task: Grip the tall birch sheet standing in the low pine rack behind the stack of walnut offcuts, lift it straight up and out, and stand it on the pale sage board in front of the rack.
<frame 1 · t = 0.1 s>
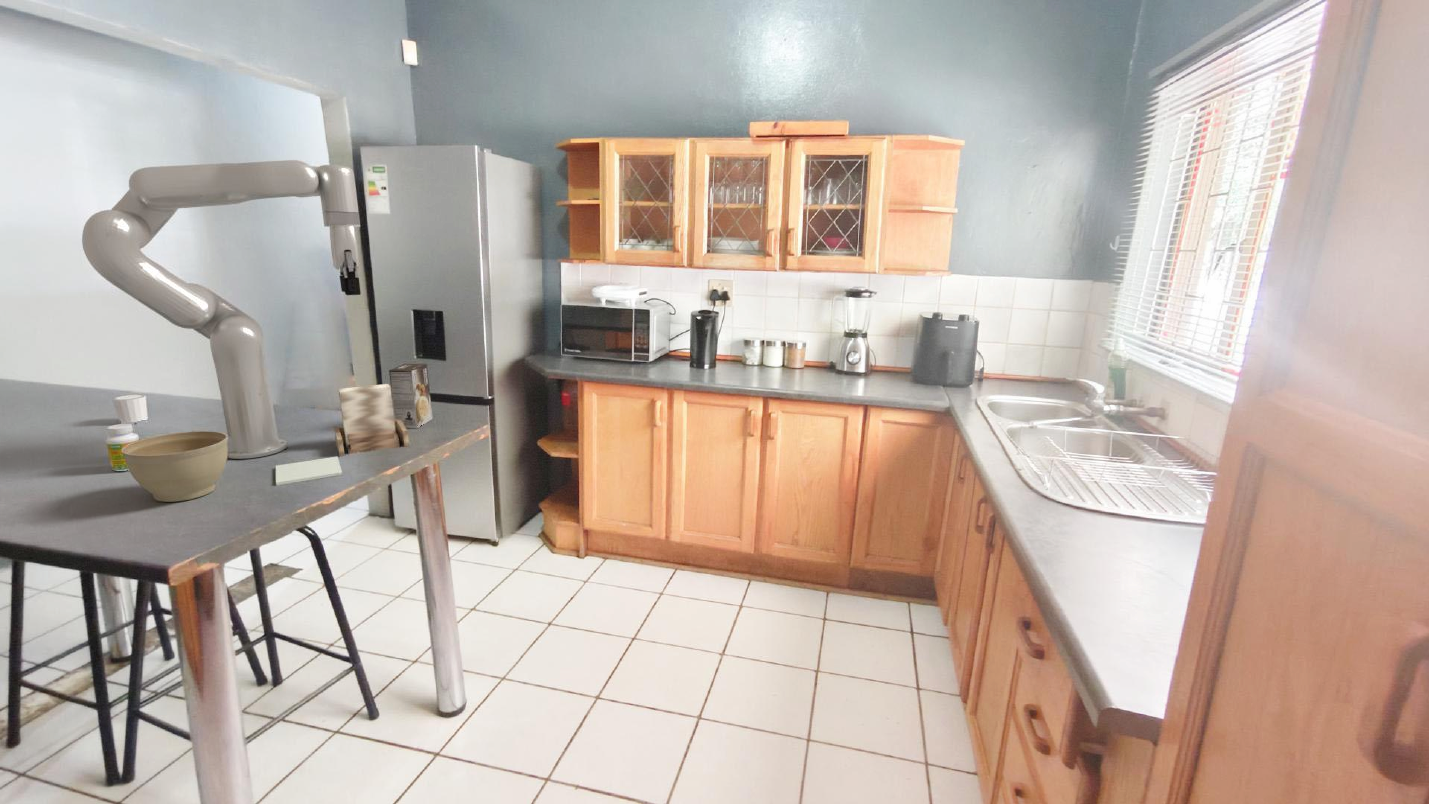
hand: (351, 293, 159), 37 cm above the table, tool pointing down, fingers open, 9 cm apart
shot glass: (134, 422, 177), on the table
supplement bottle: (129, 469, 143), on the table
coffee box: (414, 424, 180), on the table
planter bowl: (186, 494, 130), on the table
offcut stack: (373, 448, 159), on the table
pine rack: (371, 442, 163), on the table
sage board: (308, 471, 143), on the table
birch sheet: (368, 415, 162), in the pine rack
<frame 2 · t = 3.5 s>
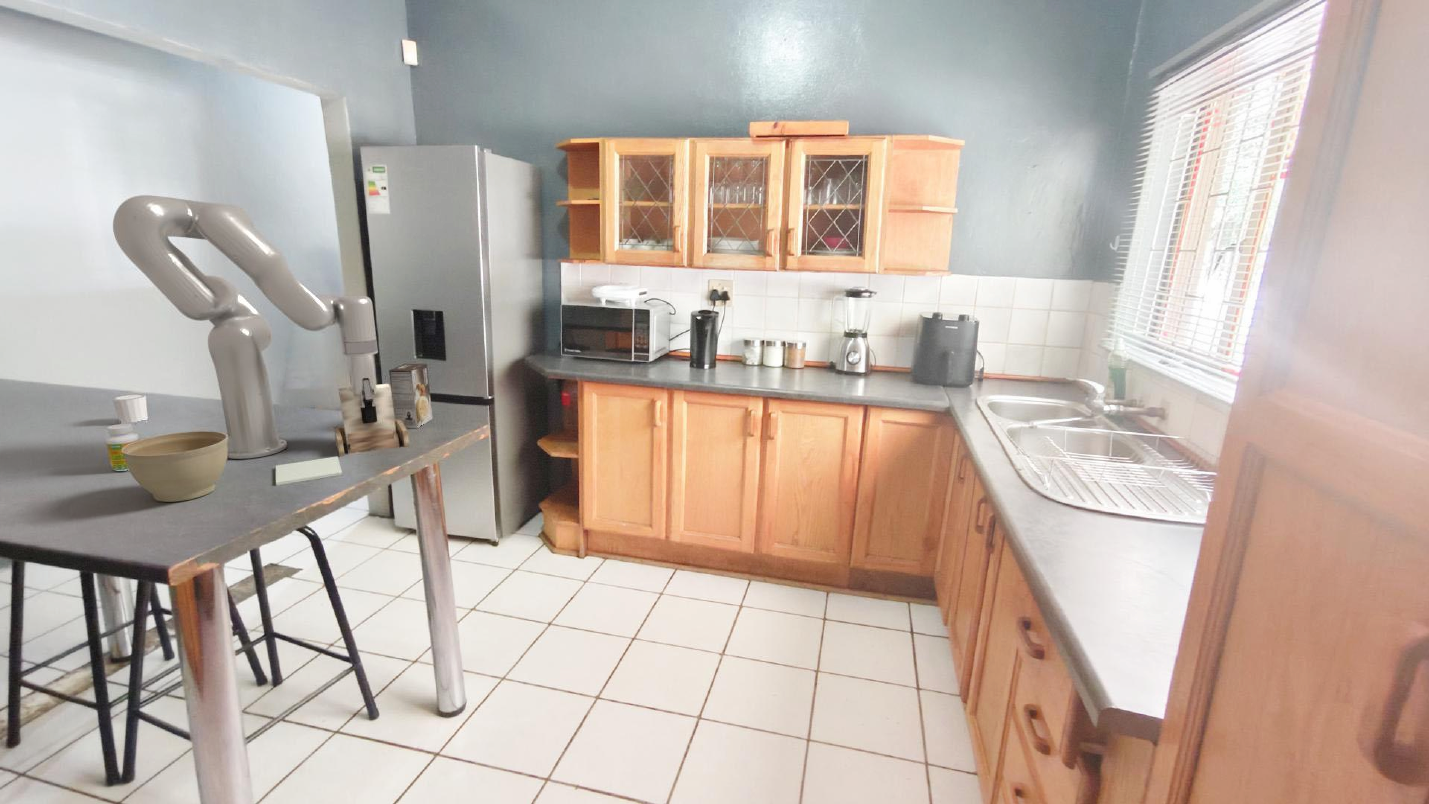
hand: (368, 419, 162), 6 cm above the table, tool pointing down, fingers closed on birch sheet, 4 cm apart
birch sheet: (368, 415, 162), in the pine rack, touching gripper
everything else where it was.
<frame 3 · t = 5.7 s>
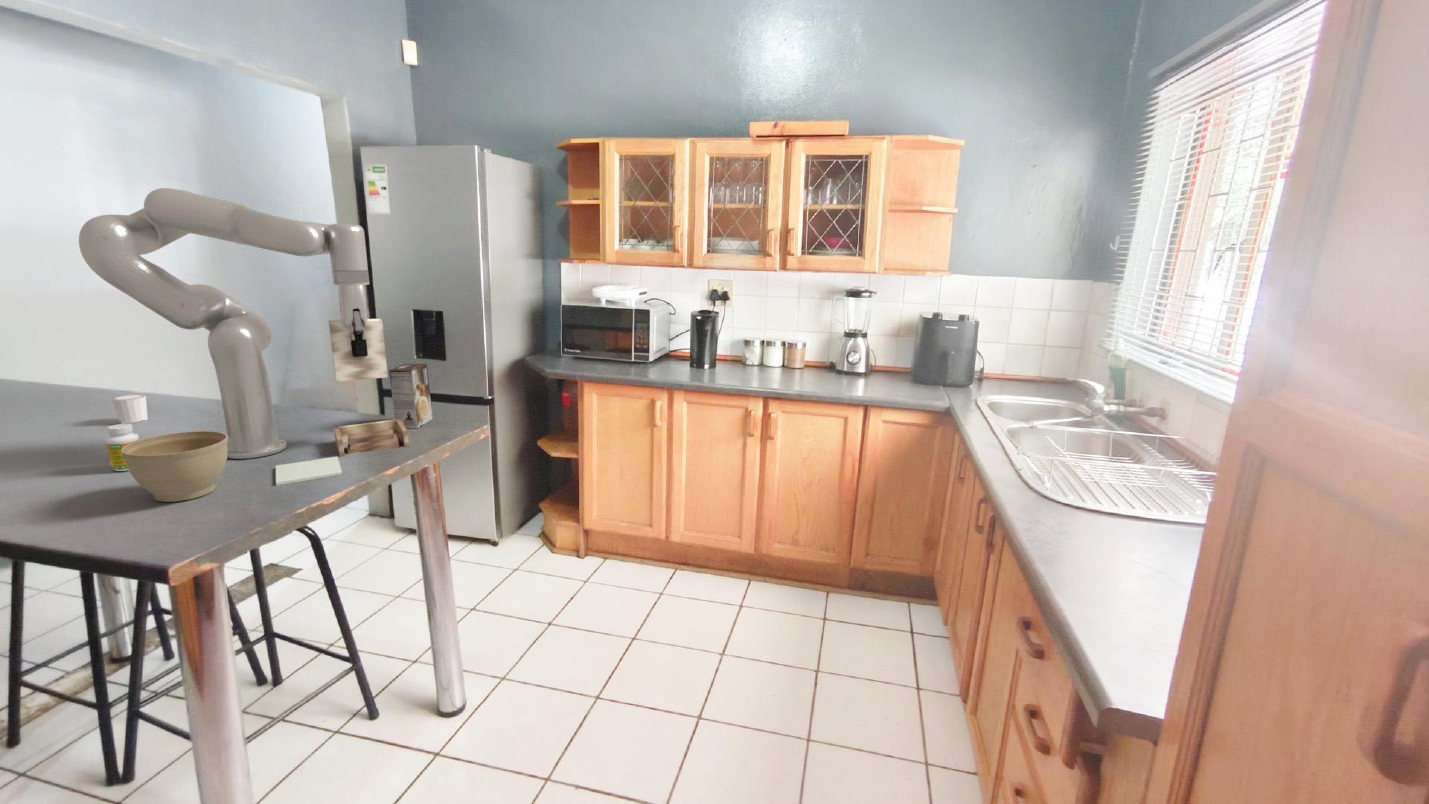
hand: (359, 354, 158), 22 cm above the table, tool pointing down, fingers closed on birch sheet, 4 cm apart
birch sheet: (358, 349, 157), point 24 cm above the table, touching gripper
everything else where it was.
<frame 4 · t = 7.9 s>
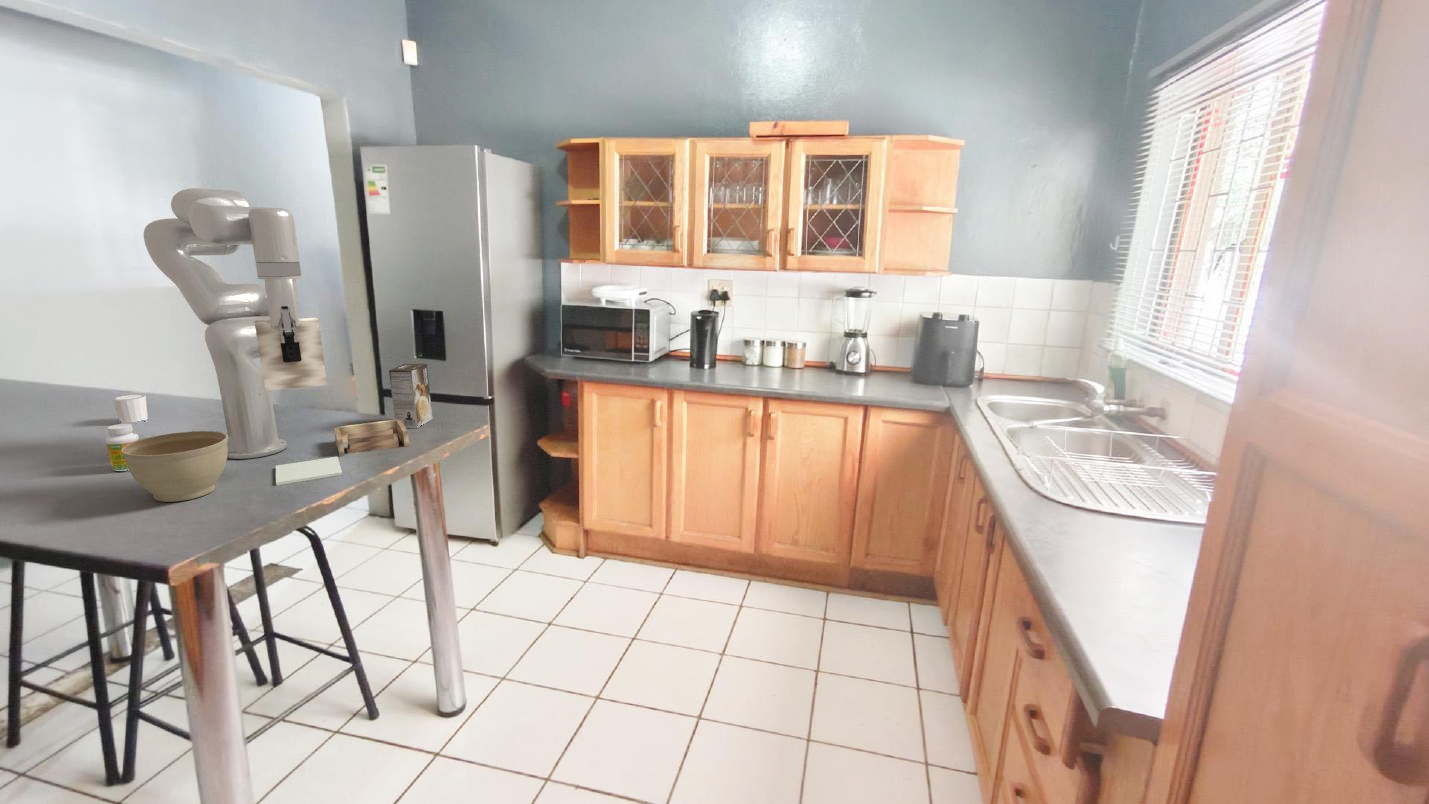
hand: (292, 358, 137), 25 cm above the table, tool pointing down, fingers closed on birch sheet, 4 cm apart
birch sheet: (291, 353, 137), point 26 cm above the table, touching gripper
everything else where it was.
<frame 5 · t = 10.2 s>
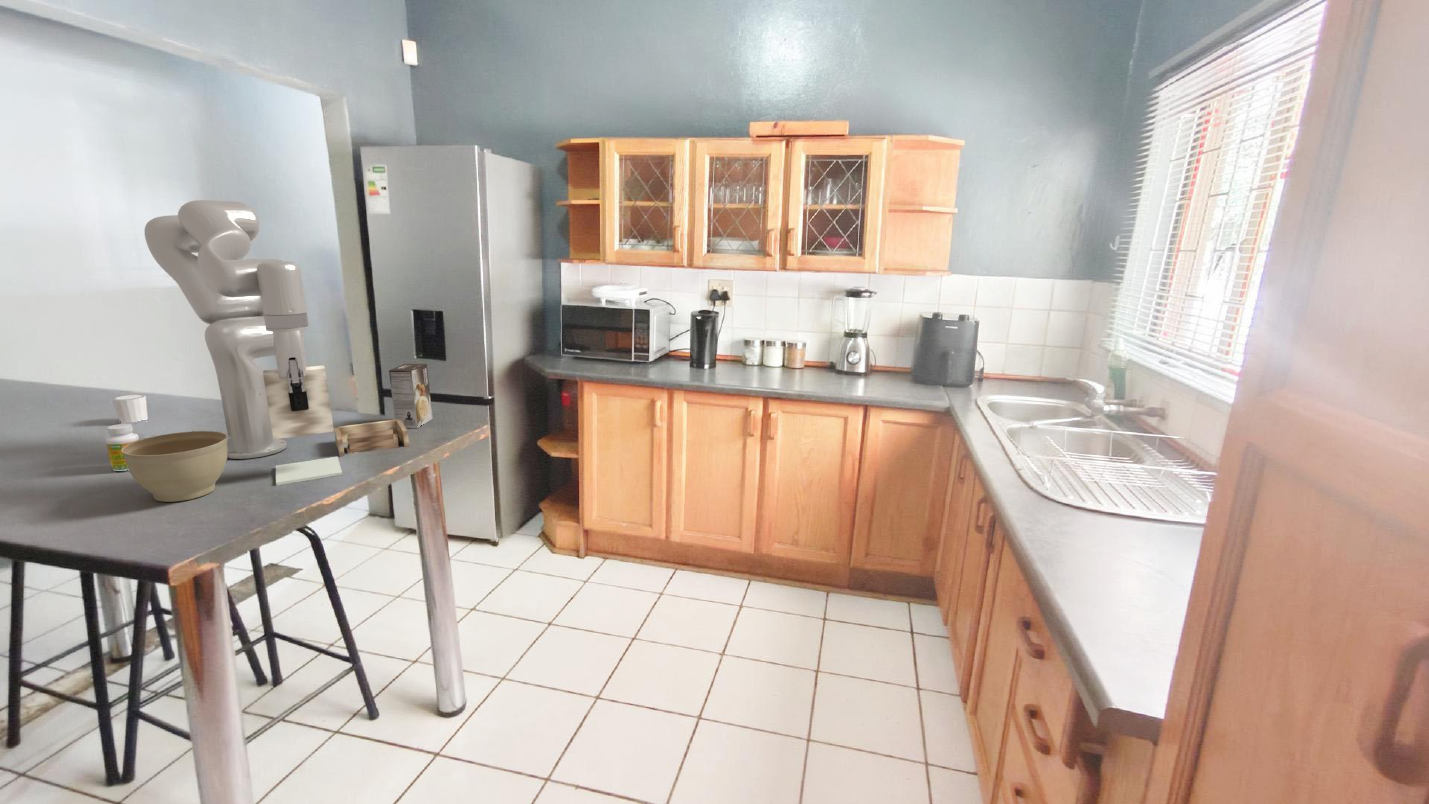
hand: (299, 406, 139), 15 cm above the table, tool pointing down, fingers closed on birch sheet, 4 cm apart
birch sheet: (299, 401, 139), point 16 cm above the table, touching gripper
everything else where it was.
when the fingers open (8 cm above the table, at t = 12.3 s): birch sheet drops 1 cm, resting on sage board.
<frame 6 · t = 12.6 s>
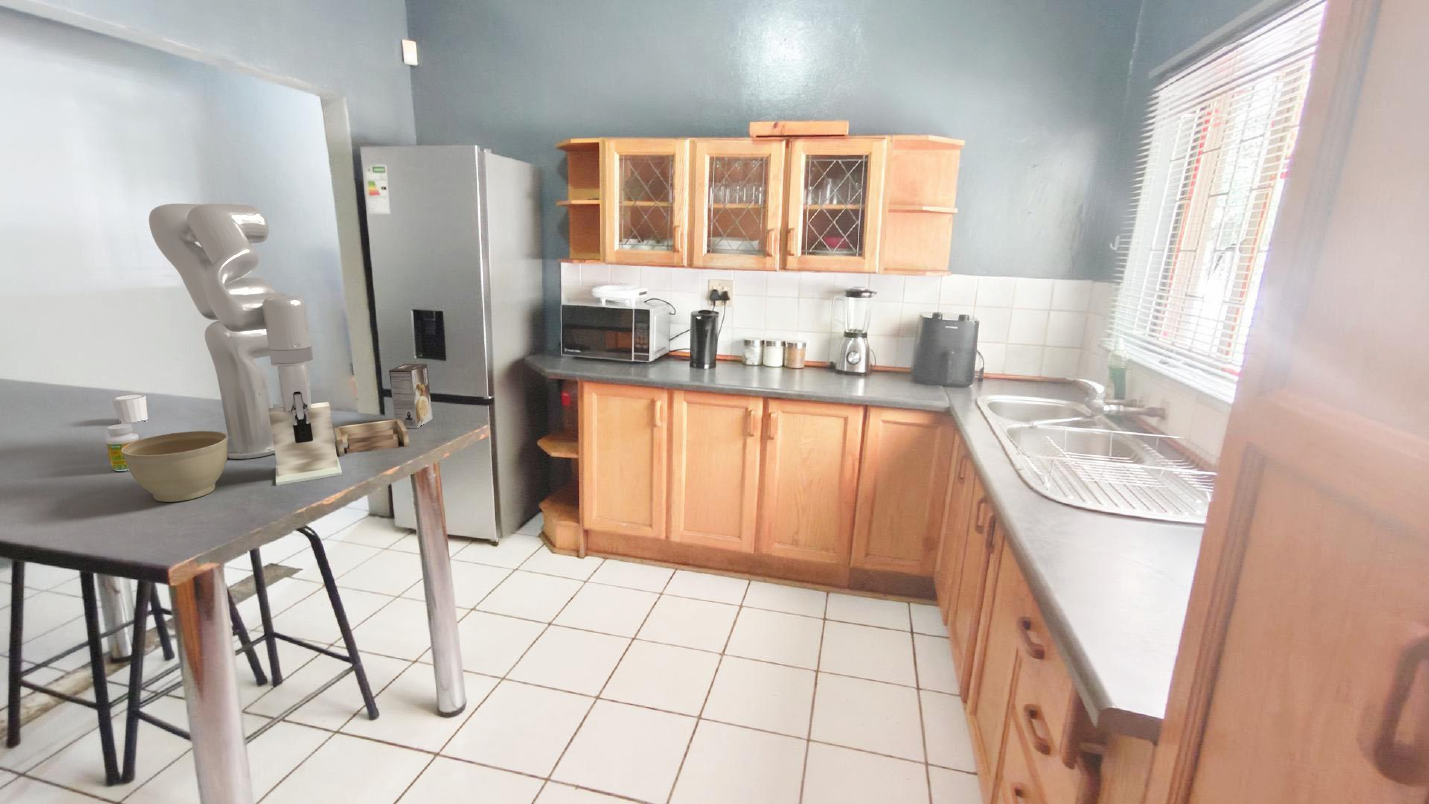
hand: (303, 436, 141), 8 cm above the table, tool pointing down, fingers open, 7 cm apart
birch sheet: (304, 438, 141), on the sage board, point 8 cm above the table
everything else where it was.
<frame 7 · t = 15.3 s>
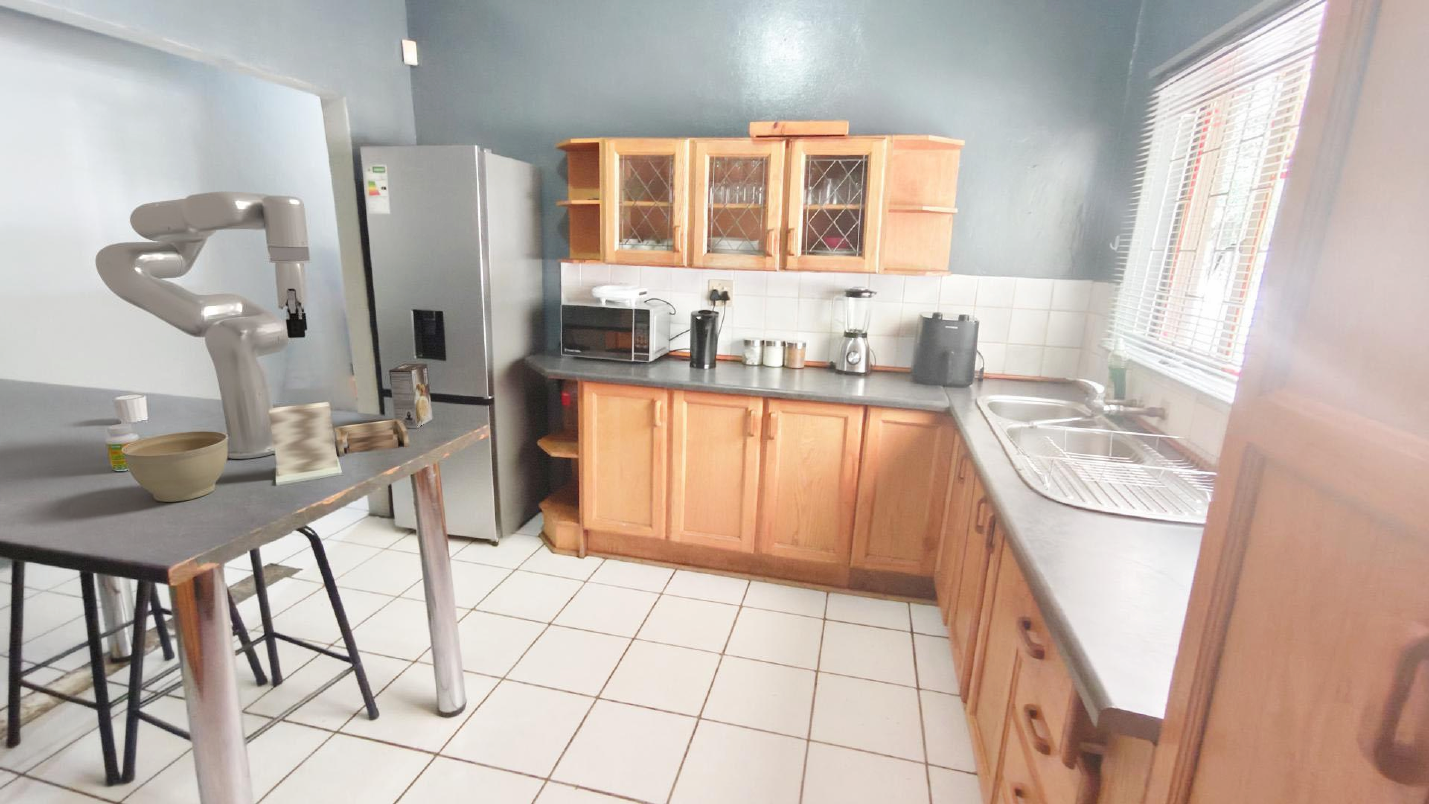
hand: (298, 333, 145), 29 cm above the table, tool pointing down, fingers open, 9 cm apart
nothing on the table moved.
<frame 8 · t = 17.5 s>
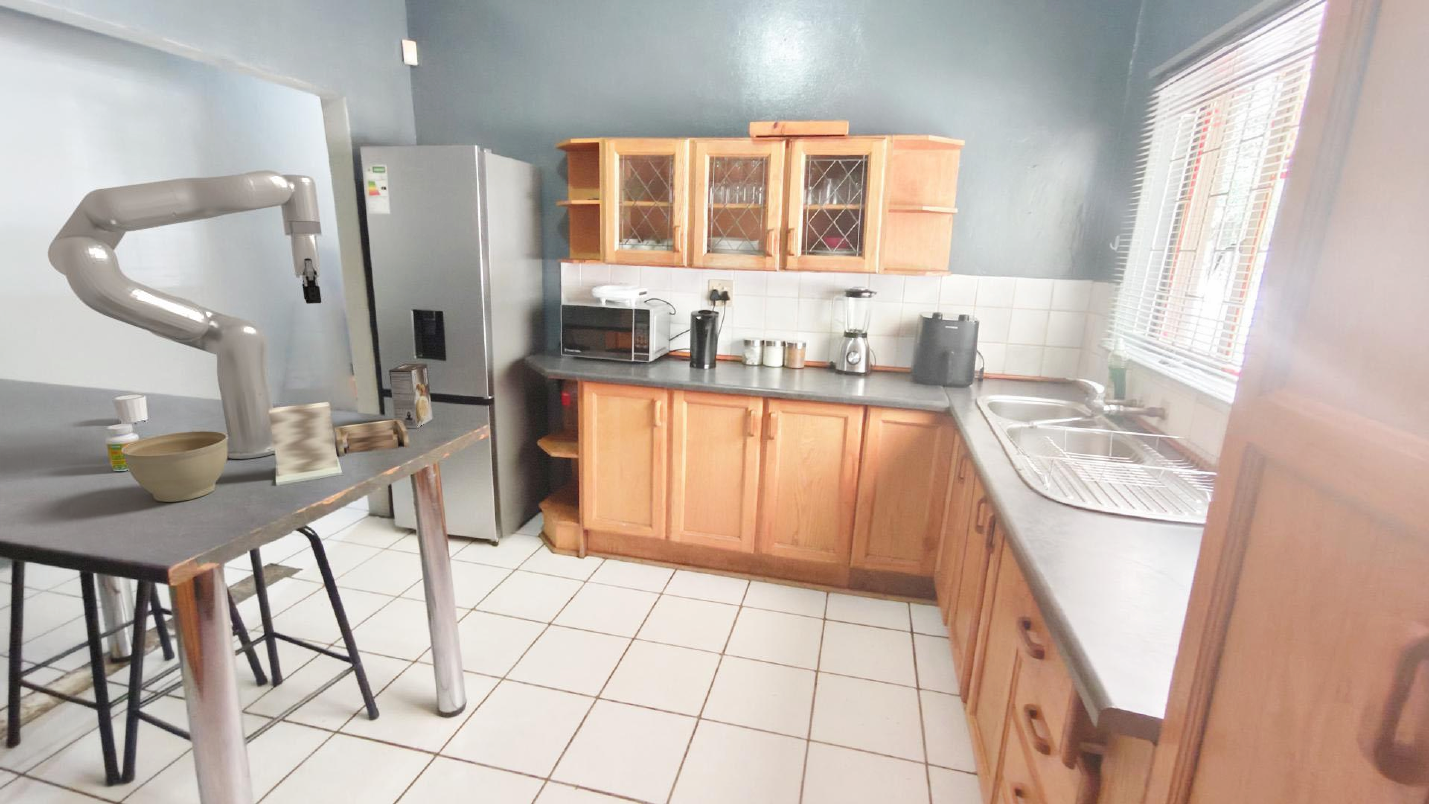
hand: (312, 301, 160), 34 cm above the table, tool pointing down, fingers open, 9 cm apart
nothing on the table moved.
at the end: birch sheet inside the target area on the sage board (0.1 cm from its centre), point 7.6 cm above the sage board's base; birch sheet tilted 0°; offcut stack moved 0.4 cm from its start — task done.
